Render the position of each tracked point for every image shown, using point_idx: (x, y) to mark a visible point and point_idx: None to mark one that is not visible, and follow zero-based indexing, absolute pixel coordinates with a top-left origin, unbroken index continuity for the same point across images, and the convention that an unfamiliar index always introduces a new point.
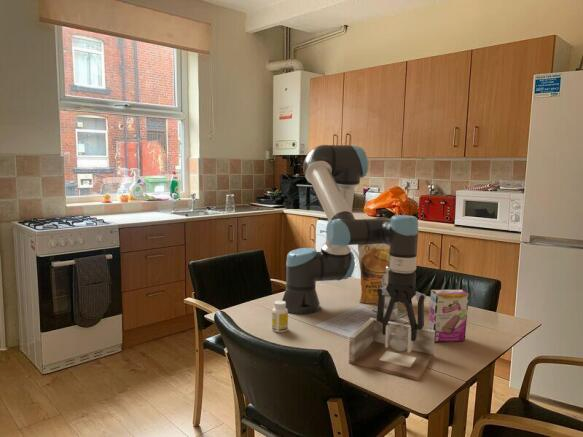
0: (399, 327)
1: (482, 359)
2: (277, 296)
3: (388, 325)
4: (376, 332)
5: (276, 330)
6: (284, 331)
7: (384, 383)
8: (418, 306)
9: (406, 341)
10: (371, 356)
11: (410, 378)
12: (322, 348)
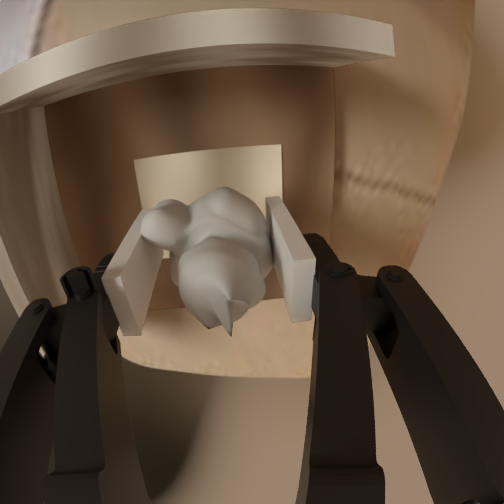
0: (213, 309)
1: (463, 24)
2: None
3: (132, 324)
4: (30, 104)
5: None
6: None
7: (236, 346)
8: (434, 479)
9: (266, 267)
10: (115, 250)
11: None
12: None
